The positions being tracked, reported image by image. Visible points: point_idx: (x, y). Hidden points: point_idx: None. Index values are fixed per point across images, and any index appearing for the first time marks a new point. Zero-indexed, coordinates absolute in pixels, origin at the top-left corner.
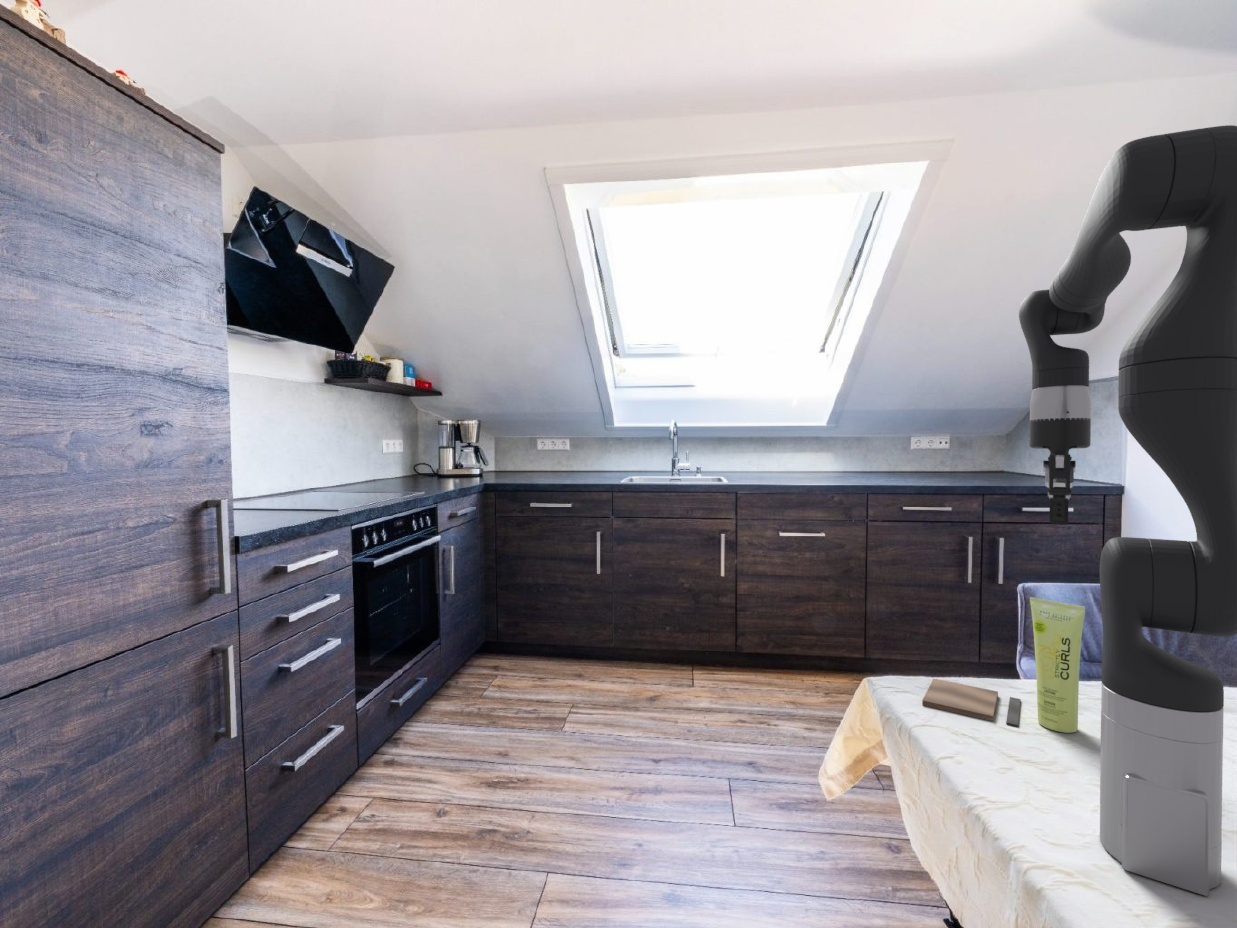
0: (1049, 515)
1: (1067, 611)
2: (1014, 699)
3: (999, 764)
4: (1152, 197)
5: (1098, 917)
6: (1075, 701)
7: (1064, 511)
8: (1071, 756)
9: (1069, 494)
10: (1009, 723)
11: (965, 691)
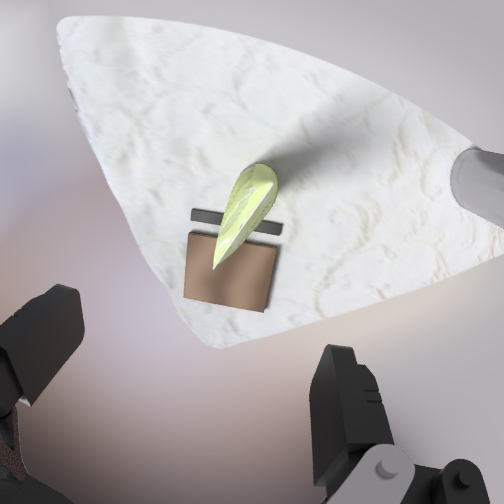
0: (76, 348)
1: (259, 207)
2: (196, 216)
3: (380, 255)
4: None
5: None
6: (271, 172)
7: (379, 401)
8: (337, 186)
9: (468, 462)
10: (279, 232)
11: (209, 268)
